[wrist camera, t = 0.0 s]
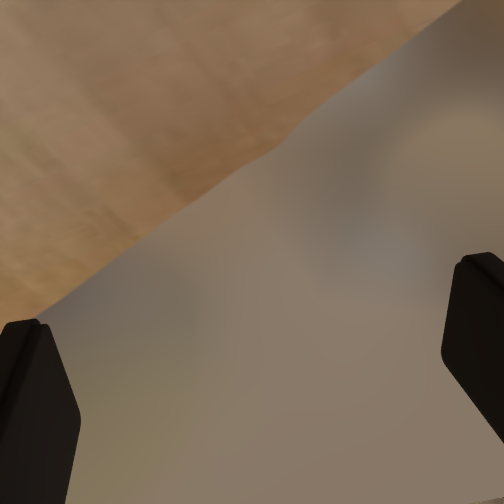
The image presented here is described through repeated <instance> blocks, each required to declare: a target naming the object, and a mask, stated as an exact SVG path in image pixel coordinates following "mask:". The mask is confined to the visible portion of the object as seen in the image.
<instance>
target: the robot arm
mask: <svg viewBox="0 0 504 504" xmlns="http://www.w3.org/2000/svg"><path fill="white" fill-rule="evenodd" d="M441 356H442V360H443V362H444V364H445V365H446V367H447V368H448V369H449V371H450V372H451V373H452V375H453V376H454V378H455V379H456V380H457V381H458V383H459V384H460V386H461V387H462V388H463V389H464V391H465V392H466V393H467V395H468V396H469V398H470V399H471V400H472V402H473V403H474V404H475V406H476V407H477V408H478V410H479V411H480V412H481V414H482V415H483V416H484V418H485V419H486V420H487V422H488V423H489V424H490V426H491V427H492V428H493V430H494V431H495V432H496V434H497V435H498V436H499V438H500V439H501V440H502V442H503V443H504V262H503V261H502V260H501V259H499V258H498V257H497V256H495V255H494V254H492V253H491V252H485V253H479V254H472V255H466V256H464V257H463V258H462V260H461V262H459V263H457V264H456V266H455V269H454V275H453V280H452V286H451V292H450V299H449V304H448V310H447V317H446V322H445V328H444V334H443V340H442V346H441ZM80 425H81V416H80V411H79V408H78V405H77V402H76V400H75V397H74V394H73V391H72V388H71V385H70V383H69V380H68V377H67V375H66V372H65V369H64V366H63V363H62V361H61V358H60V355H59V352H58V349H57V347H56V344H55V341H54V338H53V335H52V332H51V330H50V327H49V326H48V325H47V324H40V322H39V321H38V320H37V319H28V320H22V321H15V322H9V323H7V324H6V325H5V327H4V329H3V331H2V333H1V335H0V504H65V500H66V495H67V490H68V485H69V480H70V476H71V471H72V466H73V461H74V456H75V451H76V446H77V441H78V436H79V432H80ZM473 504H504V497H503V498H498V499H493V500H488V501H483V502H478V503H473Z"/></svg>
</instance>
